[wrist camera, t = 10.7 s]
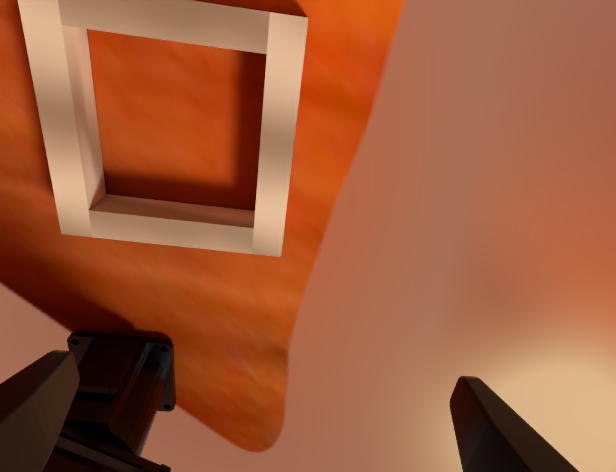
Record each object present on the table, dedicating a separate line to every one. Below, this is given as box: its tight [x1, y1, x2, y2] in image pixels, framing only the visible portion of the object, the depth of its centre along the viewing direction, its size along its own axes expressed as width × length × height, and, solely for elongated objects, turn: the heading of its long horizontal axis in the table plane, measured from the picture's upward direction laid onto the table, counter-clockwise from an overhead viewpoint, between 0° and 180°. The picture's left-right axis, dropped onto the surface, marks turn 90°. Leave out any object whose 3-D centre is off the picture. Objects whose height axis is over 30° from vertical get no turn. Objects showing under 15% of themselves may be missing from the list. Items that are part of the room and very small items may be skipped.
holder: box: [18, 0, 308, 257], centre depth 19 cm, size 11×11×2 cm
